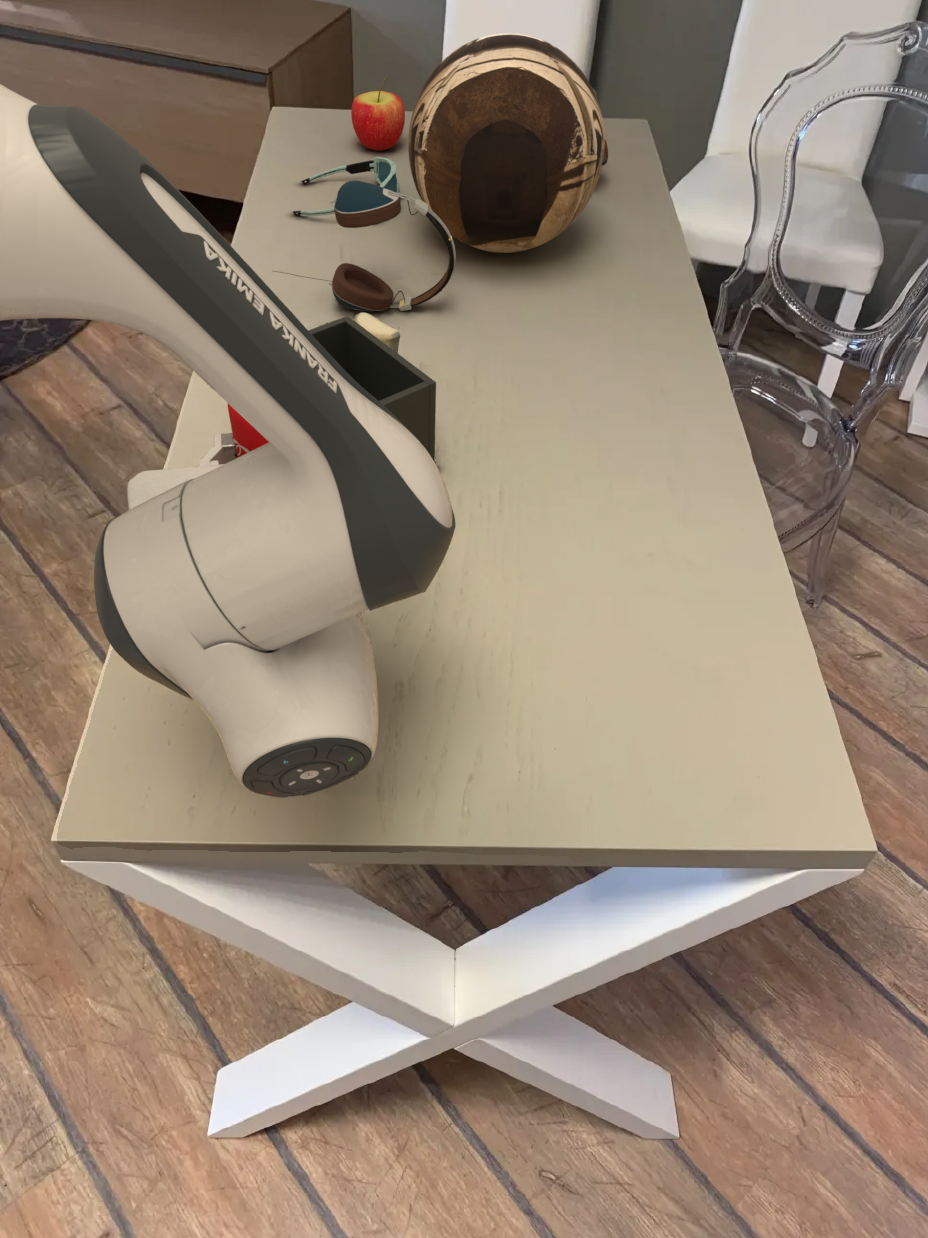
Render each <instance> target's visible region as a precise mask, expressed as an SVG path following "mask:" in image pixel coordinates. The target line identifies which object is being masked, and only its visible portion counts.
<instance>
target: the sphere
mask: <svg viewBox="0 0 928 1238" xmlns="http://www.w3.org/2000/svg"><path fill="white" fill-rule="evenodd" d="M593 89H594V88H593V86H592V85H591V83H590V80H589V79H588V78H587V76H586V75H585V73H584V72H583V70H582V69H581V68H580V67H579V66H578V64H577V63H576V62H575V61H574V60H573V59H572V58H571V57H570V56H569V55H568V54H566V53H565V52H564V51H562V50H561V49H560V48H559V47H557V46H555V45H553V44H552V43H549V42H548V41H545V40H543V39H541V38H538V37H535V36H532V35H528V34H522V33H513V32H505V33H502V32H501V33H495V34H490V35H489V34H488V35H485V36H481V37H479V38H476V39H473V40H471V41H469V42H467V43H465V44H463V45H461V46H460V47H458V48H457V49H455V50H454V51H452V52H451V53H450V54H449V55H448V56H446V57H445V58H444V59H443V60H442V61H441V62H440V63H439V64H438V65H437V66H436V68H434V70H433V71H432V72H431V74H430V75H429V76H428V78H427V79H426V81H425V83H424V84H423V86H422V88H421V90H420V92H419V94H418V97H417V99H416V101H415V104H414V106H413V110H412V114H411V117H410V123H409V130H408V141H407V147H408V149H407V151H408V162H409V168H410V173H411V176H412V181H413V183H414V186H415V189H416V192H417V194H418V195H419V199H420V200H421V201H423V202H425V203H427V204H428V208H429V209H430V210H432V211H433V212H434V213H435V214H436V215H437V216H438V217H439V218H440V219H441V220H442V222H443V223H444V224H445V226H446V227H447V229H448V230H449V232H450V234H451V236H452V238H455V239H456V240H458V241H459V242H461V243H463V244H465V245H468V246H470V247H473V248H475V249H477V250H482V251H485V252H490V253H498V254H499V253H501V254H502V253H503V254H504V253H505V254H508V253H519V252H523V251H529V250H530V249H534V248H537V247H540V246H542V245H544V244H546V243H548V242H549V241H552V240H553V239H555V238H556V237H557V236H559V235H560V234H562V233H563V232H564V231H566V229H568V228H569V227H570V226H571V225H572V224H573V223H574V222H575V221H576V219H577V218H578V217H579V216H580V214H581V213H582V212H583V211H584V209H585V208H586V207H587V204H588V203H589V201H590V199H592V195H593V193H594V191H595V189H596V187H597V184H598V182H599V179H600V175H601V171H602V168H603V166H602V163H603V157H604V145H605V140H606V138H605V127H604V126H605V125H604V120H603V114H602V110H601V106H600V103H599V100H598V96H597V97H596V95H595V93H594V91H595V89H594V90H593Z"/></svg>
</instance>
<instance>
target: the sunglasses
mask: <svg viewBox="0 0 928 1238" xmlns="http://www.w3.org/2000/svg"><path fill="white" fill-rule="evenodd" d="M396 170H397V164H396V163H395V162H394V161H393V160H391V159H390V158H387V157H380V156H376V157H374V158H372V160H366V161H360V162H355V163H351V164H347V165H340V166H337V167H333V168H331V169H327V170H324V171H322V172H319V173H316V174H314V175H312V176H310V177H308V178H306V179H303V180H301V181H300V182H301V183H302V184H303V185H307V184H310V183H312V182H315V181H317V180H320V179H323V178H326V177H328V176H332V175H335V174H338V173H344V172H347V173H348V174H351V175H355V174H361V173H367V172H369V173H370V172H373V173H374V177H375V180H376V182H377V183H378V184H379V186H380V187H383V188H386V189H388V190H391V191H393V192H396V193H399V194H400V184H399V183H398V178H397V173H396ZM292 214H293V215H294V217H322V216H331V215H335V211H334V207H332V208H328V209H320V210H311V211H310V210H293V211H292Z"/></svg>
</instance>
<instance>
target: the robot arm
mask: <svg viewBox="0 0 928 1238" xmlns="http://www.w3.org/2000/svg"><path fill="white" fill-rule="evenodd" d="M28 319H29V320H31V319H32V320H33V319H71V320H72V319H73V320H87V321H97V322H104V323H108V324H114V325H117V326H121V327H124V328H127V329H131V330H134V331H136V332H138V333H140V334H143V335H145V336H148V337H150V338H152V339H153V340H155V341H157V342H158V343H160V344H162V345H163V346H164V347H166V348H167V349H168V350H170V351H171V352H172V353H173V354H174V355H176V357H178V358H179V359H180V360H181V361H183V363H184V364H186V365H187V366H188V367H189V368H190V369H191V370H192V371H193V372H194V373H195V374H196V375H197V376H199V378H201V380H203V381H204V383H206V384H207V385H208V386H209V387H210V388H211V389H212V390H213V391H214V392H215V393H216V394H217V395H219V397H221V399H223V401H225V402H226V403H227V405H228V404H229V405H230V406H231V407H233V408H234V409H235V410H236V411H237V412H238V413H239V414H240V415H241V416H242V417H243V418H244V419H245V420H246V421H247V422H248V423H250V424H251V425H252V426H253V427H254V428H255V429H256V430H257V431H258V432H259V433H260V434H261V435H262V436H263V437H264V438H265V439H267V440H268V441H269V443H267V444H265V445H263V446H261V447H259V448H257V449H255V450H253V451H250V452H248V453H246V454H244V455H242V456H240V457H238V458H237V455H236V447H235V443H234V440H233V434H232V432H231V433H216V434H215V433H214V435H213V440H214V441H213V445H214V446H213V447H211V448H210V449H209V450H208V451H207V452H206V453H205V454H204V455H203V456H202V457H201V458H200V459H199V460H198V465H197V466H187V467H186V466H185V467H175V468H163V469H148V470H142V471H140V472H138V473H137V474H135V475H134V476H133V477H132V478H131V479H129V481H128V482H127V487H126V488H127V489H126V493H127V494H126V495H127V508H128V510H126V511H125V512H124V513H122V514H120V515H118V516H116V517H114V518H111V519H110V520H109V521H108V522H107V523H106V525H105V527H104V529H103V530H102V533H101V535H100V537H99V540H98V543H97V547H96V551H95V555H94V564H93V565H94V567H93V586H94V587H93V588H94V599H95V600H94V601H95V607H96V611H97V616H98V620H99V623H100V626H101V628H102V630H103V634H104V636H105V637H106V639H107V641H108V643H109V645H110V647H112V649H113V650H114V651H115V653H116V654H117V655H118V656H119V657H120V658H121V659H123V661H125V662H126V663H127V664H128V665H129V666H130V667H131V668H133V669H134V670H135V671H137V673H139V674H141V675H143V676H145V677H146V678H148V679H150V680H152V681H154V682H155V683H158V684H160V685H162V686H164V687H165V688H167V689H169V690H172V691H173V692H175V693H177V694H179V695H181V696H183V697H185V698H187V699H189V700H191V701H194V703H195V704H196V705H197V706H198V707H199V708H200V709H201V710H202V712H203V713H204V715H205V716H206V718H207V719H208V720H209V721H210V723H211V724H212V726H213V727H214V729H215V731H216V732H217V734H218V736H219V738H220V741H221V742H222V746H223V748H224V750H225V754H226V757H227V760H228V762H229V766H230V768H231V770H232V773H233V775H234V777H235V778H236V780H237V781H238V783H240V785H241V786H243V787H244V788H245V789H247V790H248V791H249V792H252V793H254V794H258V795H261V796H266V797H267V796H268V797H271V798H281V799H282V798H289V797H290V798H292V797H301V796H303V797H304V796H308V795H312V794H315V793H318V792H321V791H324V790H327V789H329V788H331V787H334V786H337V785H339V784H341V783H343V782H346V781H347V780H349V779H351V778H353V777H355V776H357V775H359V773H360V772H362V771H363V770H364V769H365V768H367V766H368V765H369V764H370V763H371V761H372V760H373V758H374V755H375V754H376V753H375V752H376V749H377V743H378V735H379V733H378V732H379V694H378V693H379V691H378V680H377V671H376V663H375V655H374V648H373V643H372V639H371V635H370V632H369V630H368V629H367V627H366V625H365V624H364V622H363V621H362V614H363V612H364V611H366V610H369V612H370V611H374V610H377V609H379V608H383V607H385V606H389V605H391V604H394V603H397V602H399V601H404V600H405V599H409V598H412V597H415V596H418V595H420V594H423V593H425V592H426V591H427V590H428V588H429V586H430V585H431V584H432V582H433V580H434V579H435V577H436V575H437V573H438V572H439V569H440V568H441V565H442V563H443V562H444V559H445V557H446V555H447V553H448V550H449V548H450V545H451V543H452V540H453V537H454V533H455V530H456V526H457V525H456V517H455V513H454V509H453V506H452V502H451V499H450V498H451V497H450V495H449V491H448V489H447V486H446V483H445V480H444V477H443V476H442V473H441V472H440V469H439V468H438V466H437V464H436V463H435V462H434V461H433V459H432V457H431V456H430V454H429V453H428V452H427V450H426V449H425V448H424V446H423V445H422V444H421V443H420V442H419V440H418V439H417V438H416V437H415V436H414V435H413V434H412V433H411V432H410V431H409V430H408V429H407V428H406V427H405V426H404V425H403V424H402V423H401V422H400V421H399V419H398V418H397V417H396V416H395V415H394V414H392V413H391V412H390V411H389V410H388V409H387V408H386V407H385V406H384V405H382V404H381V403H380V402H379V401H378V400H377V399H375V398H374V397H373V396H372V395H371V394H370V393H368V392H367V391H366V390H365V389H364V388H363V387H361V386H360V385H359V384H358V383H357V382H356V381H355V380H354V379H353V378H352V377H351V376H350V375H349V374H348V373H347V372H346V371H345V370H344V369H343V368H342V367H341V366H340V365H339V364H338V363H337V362H336V360H335V359H334V358H333V357H332V356H331V355H330V354H329V353H328V352H327V351H326V350H325V349H324V347H323V346H322V345H321V344H320V343H319V342H318V341H317V340H316V339H315V338H314V336H313V335H312V334H311V333H310V332H309V331H308V330H309V329H307V328H306V326H304V324H303V323H302V322H301V321H300V320H299V318H297V316H296V315H295V314H294V313H293V311H291V310H290V308H288V306H286V304H285V303H284V302H283V301H282V300H281V298H279V297H278V295H277V294H276V293H275V292H274V291H273V290H272V289H271V288H270V287H269V286H268V285H267V283H266V282H265V281H264V280H263V279H262V278H261V277H260V276H259V275H258V273H256V271H255V270H254V269H253V268H252V267H251V266H250V265H249V264H248V263H247V262H246V260H244V258H243V257H241V255H240V254H239V253H238V252H237V251H236V249H234V247H233V246H232V245H231V244H230V243H229V242H228V241H227V240H226V239H225V238H224V237H223V235H222V234H221V233H220V232H219V231H218V230H217V229H216V228H215V227H214V226H213V225H212V224H211V223H210V222H209V220H208V219H207V218H206V217H205V216H204V215H203V214H202V213H201V212H200V211H199V210H198V209H197V208H196V207H195V206H194V205H193V203H191V202H190V201H189V200H188V198H186V196H185V195H184V194H183V193H182V192H180V190H179V189H178V188H177V187H176V186H175V185H174V184H173V183H172V182H171V181H170V180H169V179H168V178H167V177H166V176H165V175H164V174H163V172H161V171H160V170H159V169H158V168H157V167H156V166H155V165H154V164H153V163H152V162H151V161H150V160H149V159H148V158H147V157H146V156H144V154H142V153H141V152H140V151H139V150H138V149H137V148H136V147H135V146H134V145H133V144H132V143H130V142H129V141H128V140H127V139H126V138H125V137H123V136H122V135H121V134H120V133H119V132H118V131H116V130H115V129H114V128H113V127H111V126H110V125H108V124H107V123H106V122H104V121H103V120H102V119H101V118H99V117H98V116H96V115H95V114H94V113H92V112H90V111H89V110H87V109H85V108H84V107H81V106H78V105H69V104H68V105H64V104H47V103H37V102H34V101H32V100H31V99H29V98H27V97H25V96H23V95H21V94H18V93H17V92H16V91H13V90H12V89H10V88H8V87H6V86H5V85H2V83H0V322H1V321H9V320H28Z"/></svg>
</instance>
